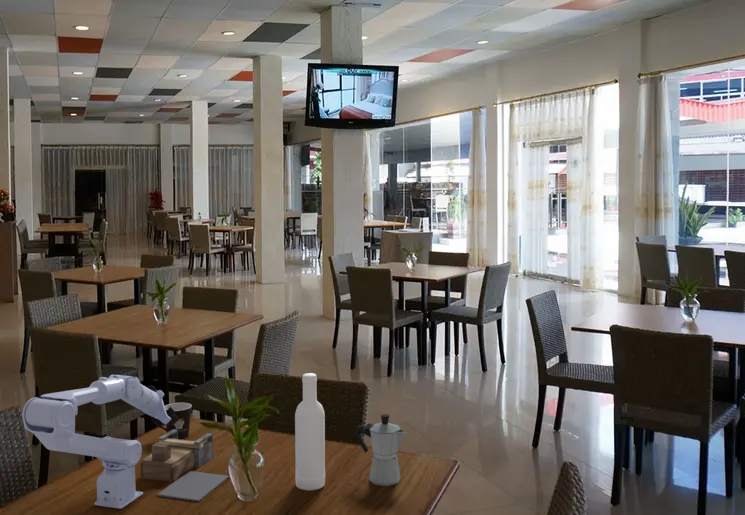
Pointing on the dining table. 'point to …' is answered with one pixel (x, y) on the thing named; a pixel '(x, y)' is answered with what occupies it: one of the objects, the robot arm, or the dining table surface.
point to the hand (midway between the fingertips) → (168, 412)
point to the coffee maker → (383, 450)
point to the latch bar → (182, 443)
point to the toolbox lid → (167, 454)
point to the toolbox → (185, 465)
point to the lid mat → (193, 486)
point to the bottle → (310, 438)
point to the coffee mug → (184, 419)
